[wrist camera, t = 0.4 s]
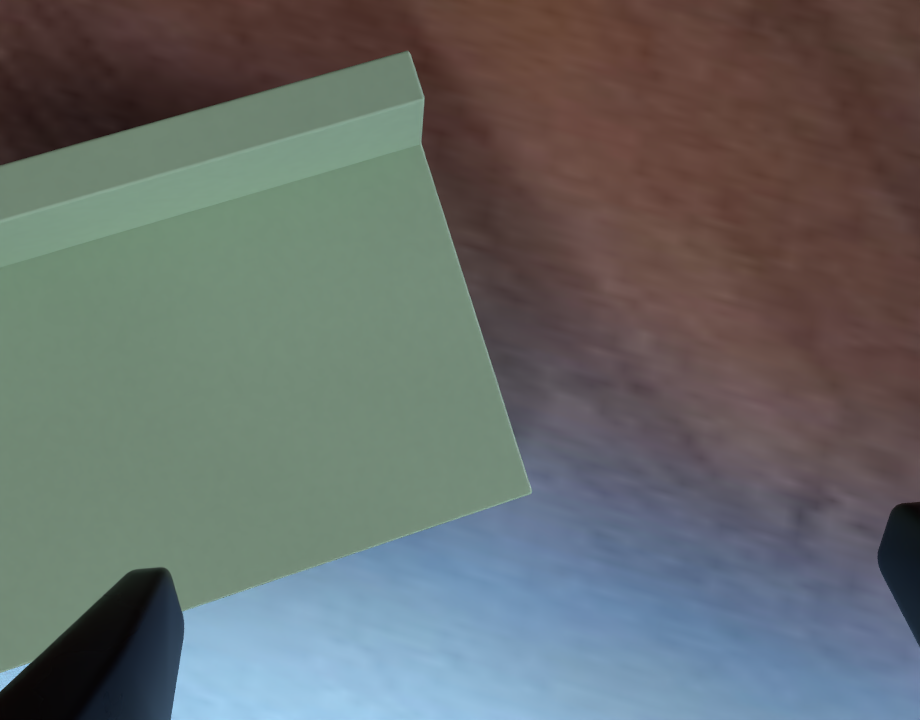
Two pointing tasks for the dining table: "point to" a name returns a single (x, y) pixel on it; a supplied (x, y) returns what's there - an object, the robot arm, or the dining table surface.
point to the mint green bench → (234, 352)
